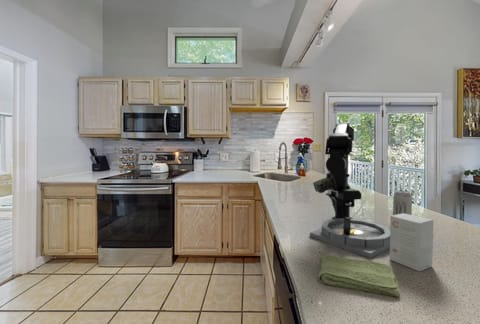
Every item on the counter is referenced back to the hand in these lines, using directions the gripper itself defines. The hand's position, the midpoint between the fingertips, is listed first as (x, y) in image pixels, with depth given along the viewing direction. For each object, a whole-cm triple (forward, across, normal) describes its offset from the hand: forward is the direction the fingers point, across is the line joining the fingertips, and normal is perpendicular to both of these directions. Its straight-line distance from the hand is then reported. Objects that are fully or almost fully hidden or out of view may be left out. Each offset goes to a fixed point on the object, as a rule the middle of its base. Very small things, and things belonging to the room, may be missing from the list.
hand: (337, 214), depth 87 cm
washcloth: (+10, +25, -9) cm, 28 cm away
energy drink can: (+9, -5, +29) cm, 31 cm away
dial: (+7, +1, +6) cm, 10 cm away
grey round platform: (+9, +1, +6) cm, 11 cm away
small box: (+9, +20, +11) cm, 24 cm away
